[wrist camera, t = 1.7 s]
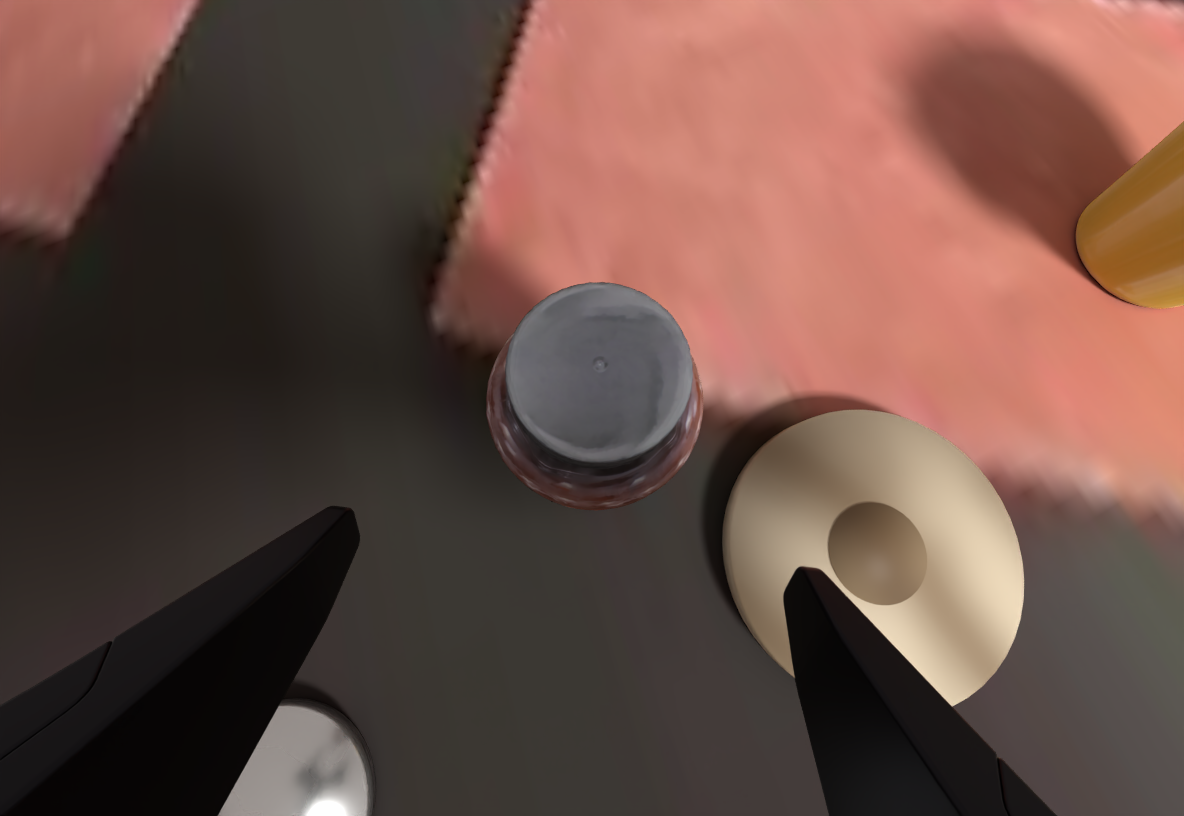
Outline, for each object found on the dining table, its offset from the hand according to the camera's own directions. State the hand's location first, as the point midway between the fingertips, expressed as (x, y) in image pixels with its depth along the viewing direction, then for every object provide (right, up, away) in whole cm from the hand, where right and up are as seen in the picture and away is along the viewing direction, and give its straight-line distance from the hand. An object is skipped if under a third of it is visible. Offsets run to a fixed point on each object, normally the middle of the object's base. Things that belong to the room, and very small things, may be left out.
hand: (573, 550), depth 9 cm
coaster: (+12, -3, +10) cm, 16 cm away
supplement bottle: (0, +1, +11) cm, 11 cm away
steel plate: (-11, -12, +8) cm, 18 cm away
